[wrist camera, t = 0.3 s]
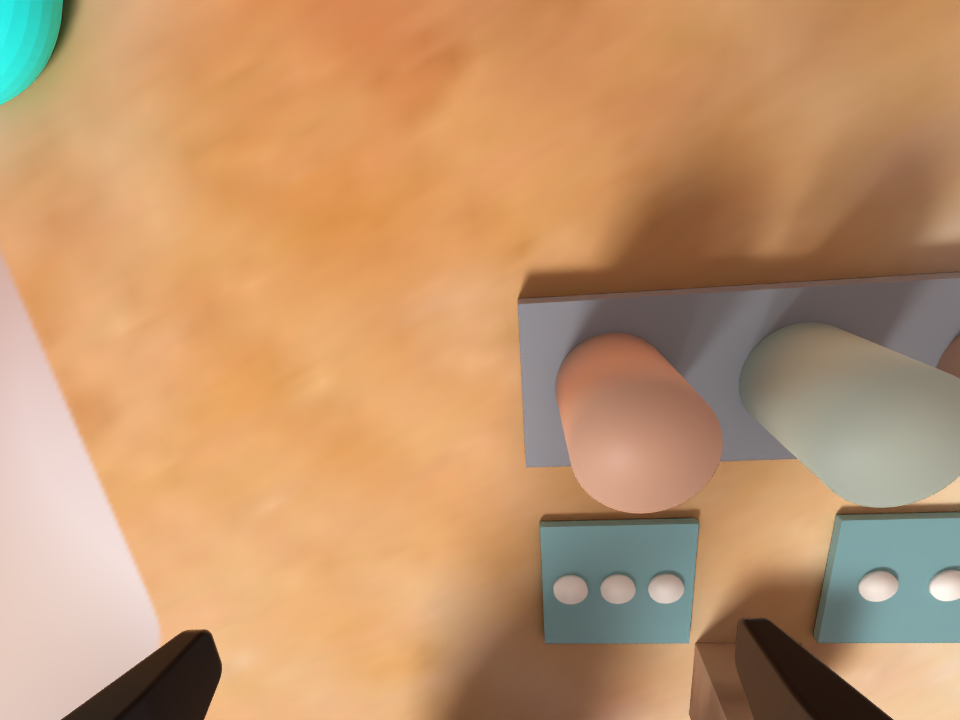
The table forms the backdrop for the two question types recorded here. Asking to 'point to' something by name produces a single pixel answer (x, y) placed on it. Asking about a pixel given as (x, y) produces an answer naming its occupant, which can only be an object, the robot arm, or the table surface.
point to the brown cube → (717, 684)
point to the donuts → (26, 42)
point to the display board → (725, 340)
